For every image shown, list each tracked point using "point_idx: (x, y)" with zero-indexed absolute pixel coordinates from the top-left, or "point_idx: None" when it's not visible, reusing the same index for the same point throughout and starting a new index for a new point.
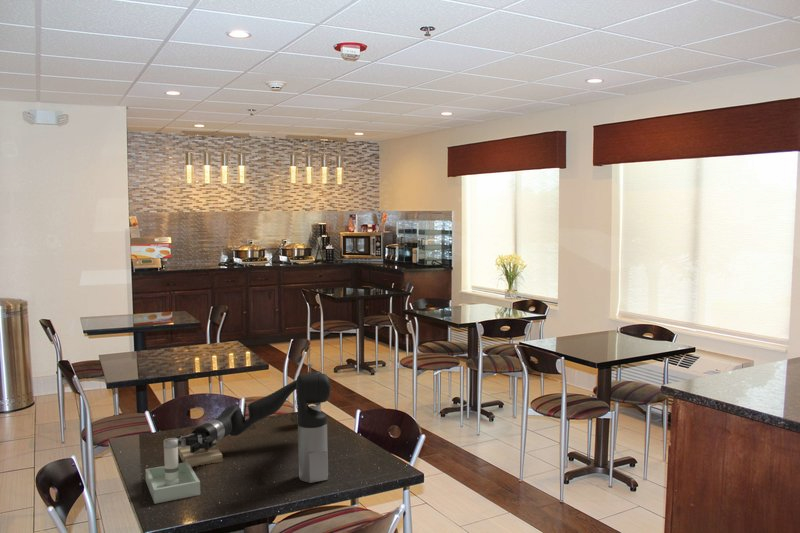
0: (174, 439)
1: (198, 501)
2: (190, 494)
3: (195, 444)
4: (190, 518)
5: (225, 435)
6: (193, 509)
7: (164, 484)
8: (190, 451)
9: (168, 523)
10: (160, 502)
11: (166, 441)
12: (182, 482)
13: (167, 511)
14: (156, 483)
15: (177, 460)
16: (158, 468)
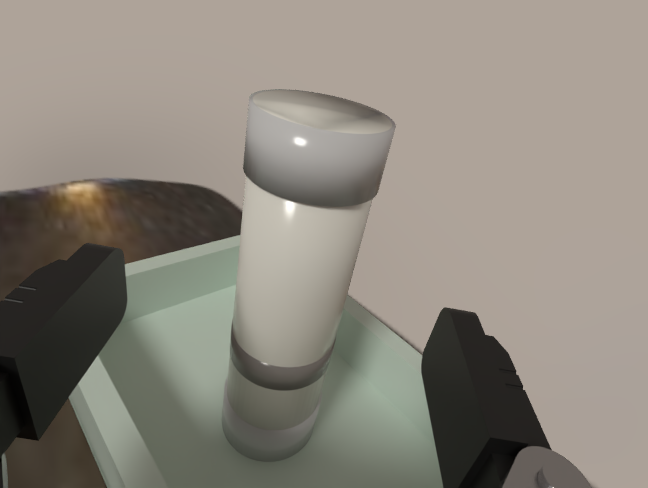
0: (291, 110)
1: None
2: None
3: (43, 289)
4: (76, 200)
5: None
6: (73, 239)
7: (322, 418)
8: (122, 291)
9: (147, 188)
10: None
11: (335, 99)
12: (210, 460)
13: (178, 234)
14: (384, 428)
15: (236, 281)
16: None
